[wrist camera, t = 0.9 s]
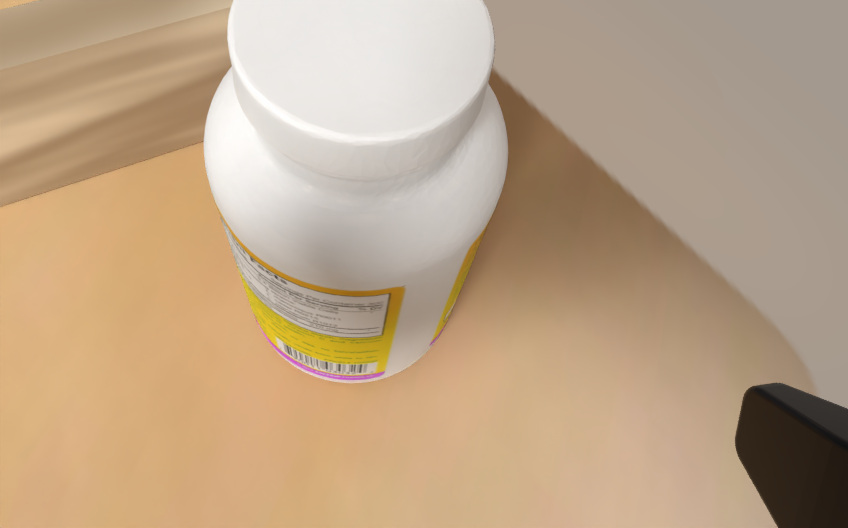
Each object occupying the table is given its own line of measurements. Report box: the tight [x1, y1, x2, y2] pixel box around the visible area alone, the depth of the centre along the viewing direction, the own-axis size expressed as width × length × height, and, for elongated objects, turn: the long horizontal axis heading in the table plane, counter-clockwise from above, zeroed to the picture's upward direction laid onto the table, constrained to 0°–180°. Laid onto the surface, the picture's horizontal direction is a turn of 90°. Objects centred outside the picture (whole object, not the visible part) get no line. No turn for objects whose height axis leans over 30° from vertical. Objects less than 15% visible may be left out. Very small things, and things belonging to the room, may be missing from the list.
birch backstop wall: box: [0, 0, 233, 207], centre depth 23 cm, size 2×13×6 cm, turn 116°
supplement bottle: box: [204, 0, 508, 383], centre depth 18 cm, size 7×7×13 cm
